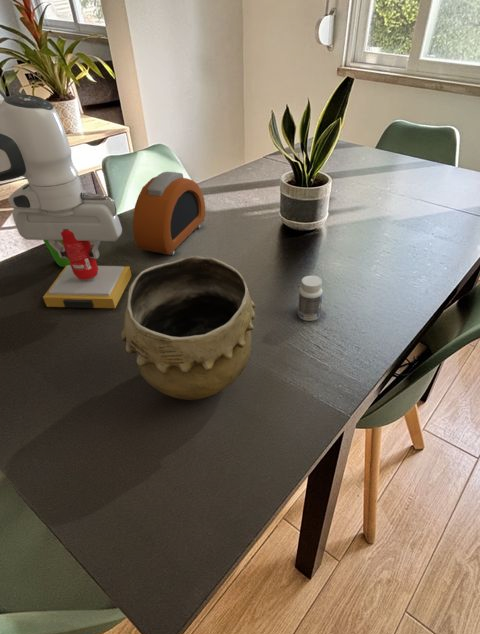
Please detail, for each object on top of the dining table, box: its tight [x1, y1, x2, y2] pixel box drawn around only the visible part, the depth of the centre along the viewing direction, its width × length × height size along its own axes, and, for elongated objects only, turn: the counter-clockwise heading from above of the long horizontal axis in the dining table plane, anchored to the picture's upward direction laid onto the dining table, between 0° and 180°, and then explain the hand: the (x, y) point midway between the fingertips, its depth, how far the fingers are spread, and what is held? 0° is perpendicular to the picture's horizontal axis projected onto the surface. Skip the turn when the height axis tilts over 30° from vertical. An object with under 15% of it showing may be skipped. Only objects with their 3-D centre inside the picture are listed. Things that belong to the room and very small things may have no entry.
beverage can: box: [61, 229, 99, 280], centre depth 90 cm, size 5×5×12 cm
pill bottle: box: [297, 275, 324, 322], centre depth 87 cm, size 5×5×8 cm
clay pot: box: [120, 255, 256, 401], centre depth 69 cm, size 21×21×20 cm
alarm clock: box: [132, 171, 206, 256], centre depth 109 cm, size 23×9×17 cm, turn 161°
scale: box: [42, 265, 133, 309], centre depth 95 cm, size 15×14×3 cm
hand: (80, 257), depth 91 cm, fingers closed on beverage can, 5 cm apart
